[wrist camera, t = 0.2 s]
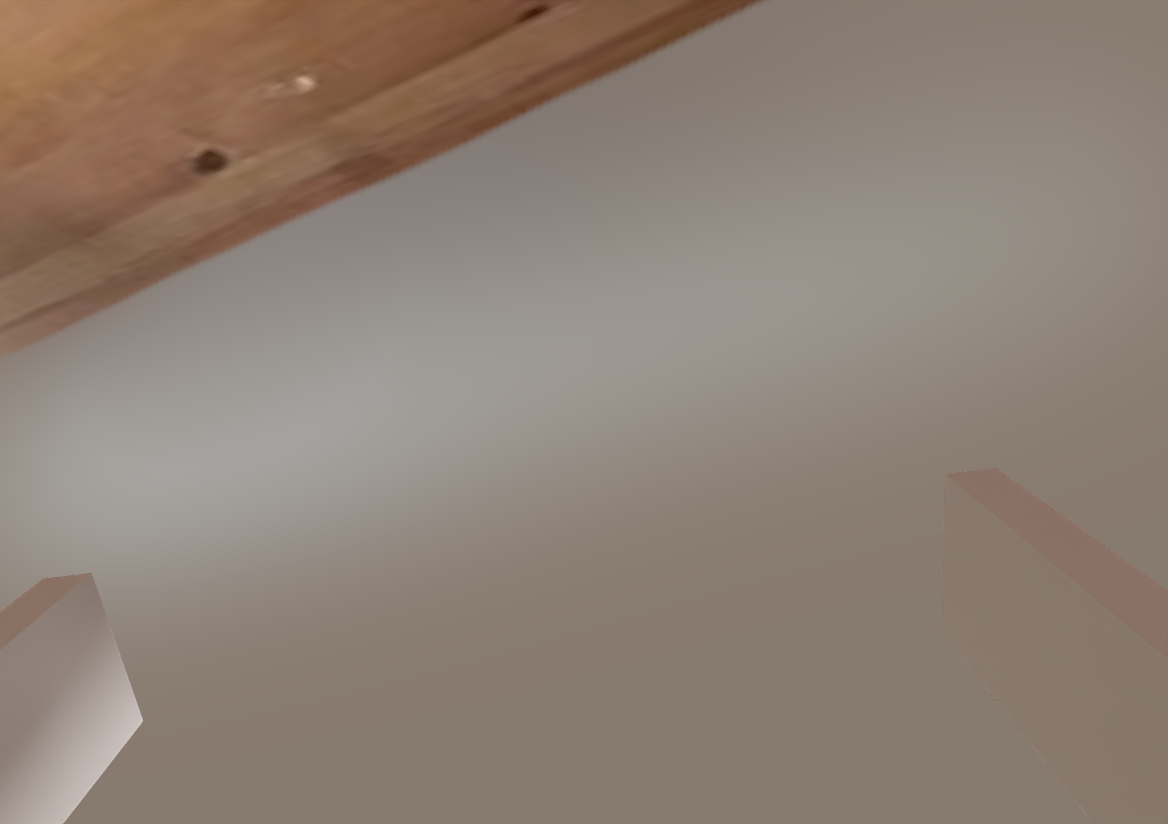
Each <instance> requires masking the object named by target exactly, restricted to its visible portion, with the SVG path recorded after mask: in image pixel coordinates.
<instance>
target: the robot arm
mask: <svg viewBox="0 0 1168 824" xmlns="http://www.w3.org/2000/svg"><path fill="white" fill-rule="evenodd" d="M943 544H944V545H943V546H944V547H943V599H942V600H943V601H942V633H943V634H944V635H945V637H946V638H947V639H948V641H949V642H950V643H951V645H952V646H953V647H954V648H955V650H956V651H957V652H958V653H959V655H960V656H961V657H962V659H963V660H964V661H965V662H966V664H967V665H968V666H969V667H970V669H971V670H972V671H973V673H974V674H975V675H976V676H977V677H978V679H979V680H980V681H981V683H982V684H983V685H984V686H985V688H986V689H987V690H988V692H989V693H990V694H991V695H992V697H993V698H994V699H995V700H996V702H997V703H998V704H999V705H1000V707H1001V708H1002V709H1003V711H1004V712H1005V713H1006V714H1007V716H1008V717H1009V718H1010V719H1011V721H1012V722H1013V723H1014V724H1015V726H1016V727H1017V728H1018V730H1019V731H1020V732H1021V733H1022V735H1023V736H1024V737H1025V739H1026V740H1027V741H1028V742H1029V744H1030V745H1031V746H1032V747H1033V748H1034V750H1035V751H1036V753H1037V754H1038V755H1039V756H1040V758H1041V759H1042V760H1043V761H1044V763H1045V764H1046V765H1047V767H1048V768H1049V769H1050V770H1051V772H1052V773H1053V774H1054V775H1055V777H1056V778H1057V779H1058V780H1059V782H1060V783H1061V784H1062V785H1063V787H1064V788H1065V789H1066V791H1067V792H1068V793H1069V794H1070V796H1071V797H1072V798H1073V800H1074V801H1075V802H1076V803H1077V805H1078V806H1079V807H1080V808H1081V810H1082V811H1083V812H1084V813H1085V815H1086V816H1087V817H1088V819H1089V820H1090V821H1091V822H1092V824H1168V591H1167V590H1165V589H1164V588H1163V587H1161V586H1160V585H1158V584H1157V583H1156V582H1154V581H1153V580H1152V579H1150V578H1149V577H1147V576H1146V575H1144V574H1143V573H1142V572H1140V571H1139V570H1138V569H1136V568H1135V567H1133V566H1132V565H1130V564H1129V563H1128V562H1126V561H1125V560H1124V559H1122V558H1121V557H1119V556H1118V555H1117V554H1115V553H1114V552H1113V551H1111V550H1110V549H1108V548H1107V547H1105V546H1104V545H1103V544H1101V543H1100V542H1099V541H1097V540H1096V539H1094V538H1093V537H1092V536H1090V535H1089V534H1087V533H1086V532H1085V531H1083V530H1082V529H1080V528H1079V527H1078V526H1076V525H1075V524H1073V523H1072V522H1071V521H1069V520H1068V519H1066V518H1065V517H1063V516H1062V515H1061V514H1059V513H1058V512H1057V511H1055V510H1054V509H1053V508H1051V507H1050V506H1048V505H1047V504H1046V503H1044V502H1043V501H1041V500H1040V499H1038V498H1037V497H1036V496H1034V495H1033V494H1031V493H1030V492H1029V491H1027V490H1026V489H1024V488H1023V487H1022V486H1020V485H1019V484H1018V483H1016V482H1015V481H1013V480H1012V479H1011V478H1009V477H1008V476H1006V475H1005V474H1004V473H1002V472H1001V471H999V470H998V469H997V468H992V469H983V470H975V471H966V472H958V473H949V474H945V486H944V543H943ZM142 722H143V719H142V717H141V714H140V711H139V708H138V705H137V702H136V699H135V696H134V694H133V691H132V688H131V685H130V682H129V679H128V676H127V674H126V671H125V668H124V665H123V662H122V659H121V656H120V653H119V650H118V648H117V645H116V642H115V639H114V636H113V633H112V630H111V628H110V625H109V622H108V619H107V616H106V613H105V610H104V608H103V605H102V602H101V599H100V596H99V593H98V591H97V587H96V585H95V582H94V579H93V576H92V574H91V573H89V574H79V575H71V576H62V577H54V578H45V579H42V580H41V581H40V582H38V583H37V584H36V585H35V586H33V587H32V588H31V589H29V590H28V591H27V592H25V593H24V594H23V595H22V596H20V597H19V598H18V599H16V600H15V601H14V602H13V603H11V604H10V605H9V606H7V607H6V608H5V609H3V610H2V611H1V612H0V824H63V823H64V822H65V821H66V819H67V818H68V817H69V815H70V814H71V813H72V812H73V810H74V809H75V808H76V806H77V805H78V804H79V803H80V801H81V800H82V799H83V797H84V796H85V795H86V793H87V792H88V791H89V790H90V788H91V787H92V786H93V785H94V783H95V782H96V781H97V779H98V778H99V777H100V776H101V774H102V773H103V772H104V771H105V769H106V768H107V766H108V765H109V764H110V763H111V761H112V760H113V759H114V758H115V756H116V755H117V754H118V753H119V751H120V750H121V749H122V747H123V746H124V745H125V744H126V742H127V741H128V740H129V738H130V737H131V736H132V735H133V733H134V732H135V731H136V729H137V728H138V727H139V726H140V724H141V723H142Z"/></svg>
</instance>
